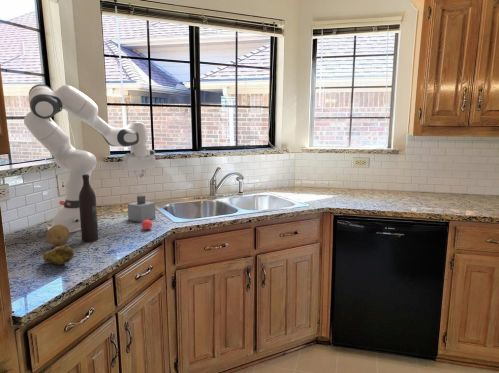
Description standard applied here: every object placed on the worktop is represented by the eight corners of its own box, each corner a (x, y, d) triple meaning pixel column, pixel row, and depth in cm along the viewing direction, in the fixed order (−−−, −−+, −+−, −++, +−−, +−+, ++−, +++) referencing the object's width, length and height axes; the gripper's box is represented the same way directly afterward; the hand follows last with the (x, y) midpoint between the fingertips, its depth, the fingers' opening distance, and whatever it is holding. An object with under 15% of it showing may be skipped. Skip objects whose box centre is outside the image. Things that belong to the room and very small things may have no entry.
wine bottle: (96, 241, 168) (92, 175, 163) (79, 242, 167) (74, 176, 162) (100, 236, 175) (95, 173, 170) (84, 237, 174) (79, 173, 168)
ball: (145, 223, 183) (152, 218, 186) (138, 222, 185) (145, 217, 189) (148, 232, 185) (155, 226, 188) (141, 231, 187) (148, 225, 191)
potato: (64, 257, 149) (62, 238, 148) (77, 266, 140) (76, 246, 139) (41, 263, 143) (39, 243, 142) (54, 272, 135) (52, 251, 133)
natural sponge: (61, 252, 155) (59, 228, 153) (41, 250, 157) (39, 227, 155) (74, 244, 164) (73, 222, 162) (56, 243, 165) (54, 221, 164)
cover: (141, 222, 200) (140, 198, 198) (128, 219, 205) (127, 196, 203) (155, 218, 208) (154, 195, 206) (142, 215, 214) (141, 193, 211)
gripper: (128, 153, 190) (129, 180, 192) (157, 151, 207) (157, 176, 209) (119, 153, 193) (120, 179, 195) (148, 150, 210) (149, 175, 213)
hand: (140, 177), depth 202 cm, fingers closed
